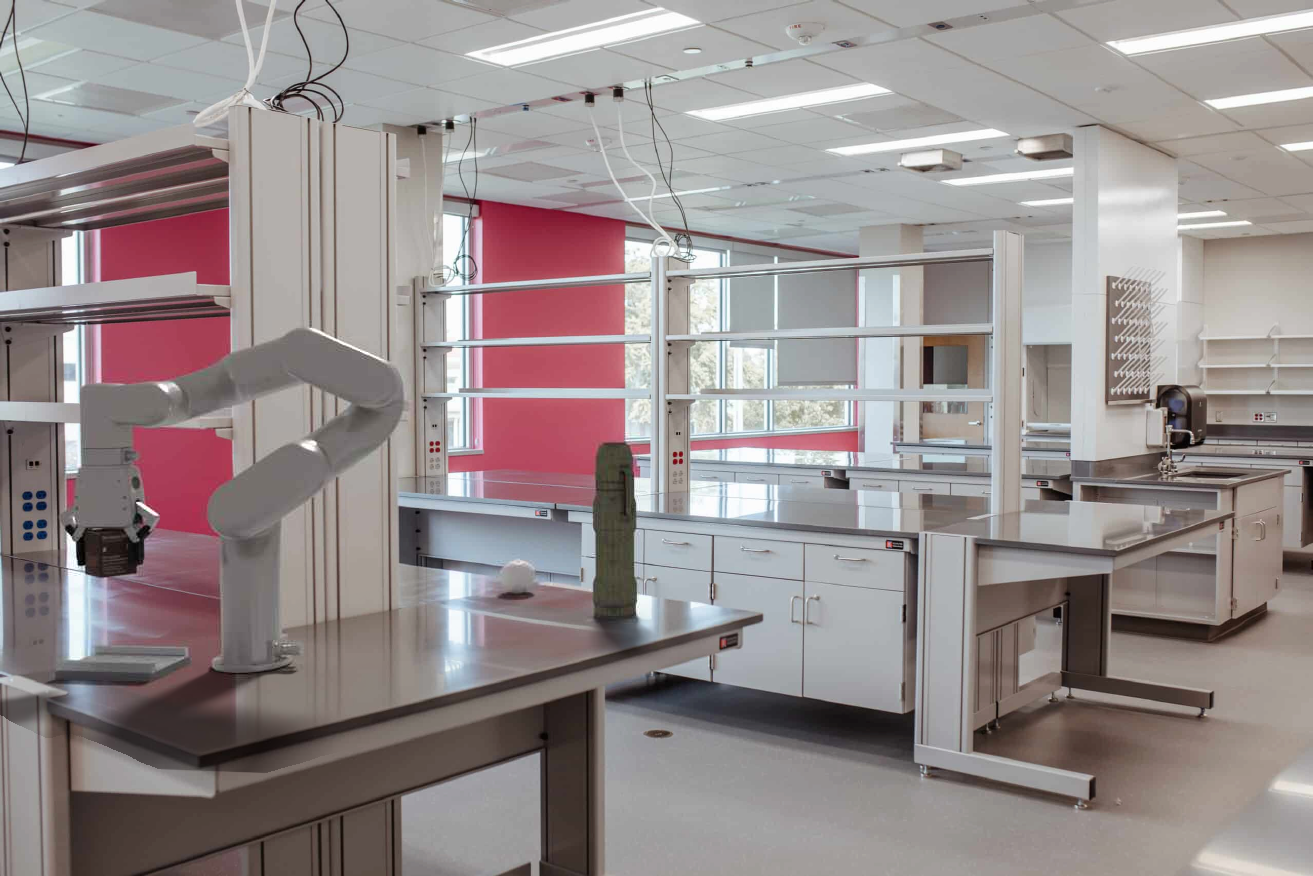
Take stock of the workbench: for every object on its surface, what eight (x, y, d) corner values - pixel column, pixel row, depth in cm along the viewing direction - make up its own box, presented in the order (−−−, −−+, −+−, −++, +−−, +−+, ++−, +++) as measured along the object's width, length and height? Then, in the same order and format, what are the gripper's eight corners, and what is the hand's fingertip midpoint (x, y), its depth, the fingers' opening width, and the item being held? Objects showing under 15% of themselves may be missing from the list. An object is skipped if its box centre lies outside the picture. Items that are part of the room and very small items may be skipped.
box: (99, 579, 176) (97, 533, 176) (84, 575, 180) (82, 530, 180) (138, 574, 180) (136, 529, 180) (122, 570, 184) (121, 526, 184)
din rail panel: (190, 662, 186) (189, 646, 186) (150, 682, 174) (149, 664, 174) (100, 660, 187) (100, 644, 187) (55, 679, 176) (54, 662, 175)
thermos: (612, 607, 231) (611, 440, 229) (650, 616, 222) (649, 443, 221) (579, 613, 225) (578, 442, 223) (617, 622, 216) (616, 444, 215)
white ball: (532, 589, 252) (532, 555, 252) (538, 595, 245) (537, 560, 244) (497, 591, 250) (497, 557, 249) (502, 597, 242) (501, 562, 242)
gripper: (170, 457, 182) (173, 562, 183) (71, 457, 184) (75, 561, 185) (145, 460, 175) (148, 569, 175) (42, 460, 176) (45, 568, 177)
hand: (110, 564), depth 180 cm, fingers closed on box, 8 cm apart
